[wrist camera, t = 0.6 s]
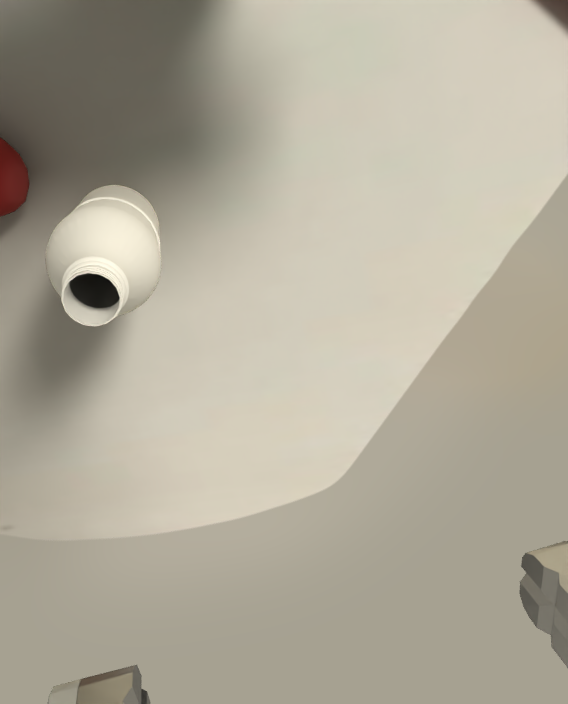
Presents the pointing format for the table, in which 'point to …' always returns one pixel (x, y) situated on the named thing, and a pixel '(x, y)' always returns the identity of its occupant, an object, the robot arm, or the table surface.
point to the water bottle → (105, 255)
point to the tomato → (12, 179)
